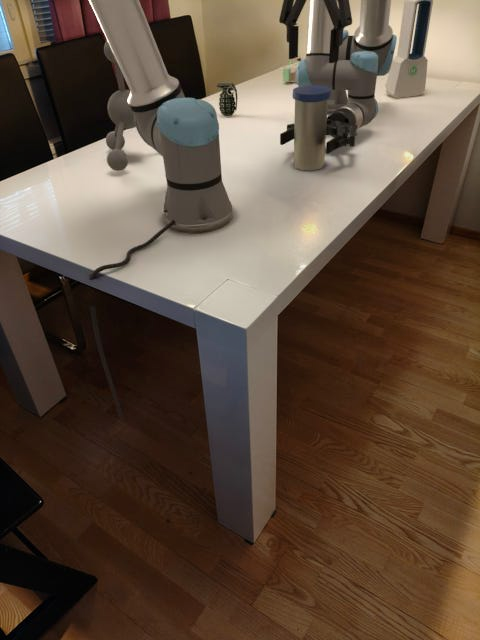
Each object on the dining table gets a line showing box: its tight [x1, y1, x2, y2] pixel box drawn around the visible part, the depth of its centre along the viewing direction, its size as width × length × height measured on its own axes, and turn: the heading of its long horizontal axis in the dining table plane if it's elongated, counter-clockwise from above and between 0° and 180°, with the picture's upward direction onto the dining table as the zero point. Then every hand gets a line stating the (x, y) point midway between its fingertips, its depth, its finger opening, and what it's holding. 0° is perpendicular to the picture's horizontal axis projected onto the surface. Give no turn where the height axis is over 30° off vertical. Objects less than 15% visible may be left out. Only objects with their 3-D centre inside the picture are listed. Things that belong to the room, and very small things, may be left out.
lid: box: [292, 85, 331, 102], centre depth 118 cm, size 9×9×2 cm
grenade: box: [215, 82, 238, 117], centre depth 166 cm, size 7×6×10 cm
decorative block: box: [282, 58, 306, 84], centre depth 205 cm, size 26×6×20 cm
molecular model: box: [103, 40, 136, 172], centre depth 131 cm, size 24×22×30 cm
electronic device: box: [384, 0, 434, 99], centre depth 170 cm, size 12×8×30 cm, turn 105°
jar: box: [293, 99, 328, 171], centre depth 124 cm, size 8×8×18 cm
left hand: (312, 60), depth 114 cm, fingers open, 10 cm apart
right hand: (303, 143), depth 123 cm, fingers open, 13 cm apart
